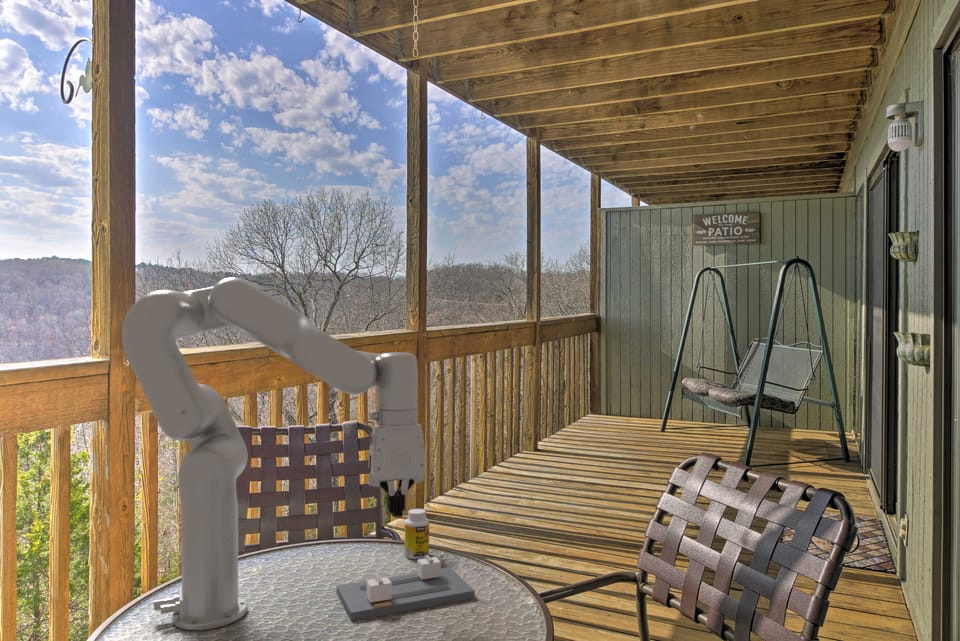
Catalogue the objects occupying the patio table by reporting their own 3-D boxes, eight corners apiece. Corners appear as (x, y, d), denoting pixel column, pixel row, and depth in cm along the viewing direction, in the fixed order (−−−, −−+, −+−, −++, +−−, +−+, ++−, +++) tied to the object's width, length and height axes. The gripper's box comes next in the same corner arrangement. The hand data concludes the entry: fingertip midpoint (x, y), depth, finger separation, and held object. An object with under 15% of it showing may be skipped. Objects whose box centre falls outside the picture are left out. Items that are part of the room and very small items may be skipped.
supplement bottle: (414, 562, 146) (414, 516, 146) (399, 555, 150) (399, 510, 150) (434, 555, 150) (434, 511, 150) (418, 549, 154) (418, 506, 154)
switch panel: (351, 621, 117) (351, 612, 117) (336, 593, 129) (336, 585, 129) (474, 598, 127) (474, 590, 127) (450, 574, 139) (450, 567, 139)
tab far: (421, 579, 131) (421, 561, 131) (417, 574, 134) (417, 556, 134) (440, 576, 133) (440, 558, 133) (435, 571, 135) (435, 554, 135)
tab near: (370, 602, 120) (370, 583, 120) (366, 596, 123) (366, 577, 123) (391, 599, 122) (391, 579, 122) (387, 592, 125) (387, 573, 125)
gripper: (362, 422, 118) (361, 525, 118) (440, 418, 124) (439, 515, 124) (353, 417, 125) (352, 513, 125) (427, 413, 131) (427, 505, 131)
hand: (396, 514), depth 124 cm, fingers closed
